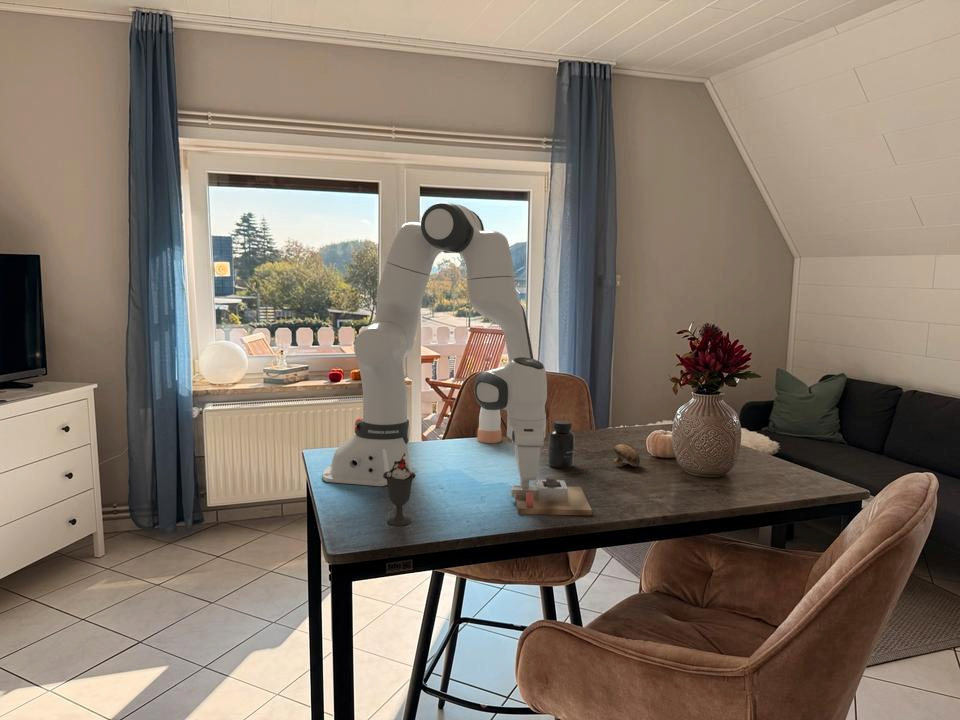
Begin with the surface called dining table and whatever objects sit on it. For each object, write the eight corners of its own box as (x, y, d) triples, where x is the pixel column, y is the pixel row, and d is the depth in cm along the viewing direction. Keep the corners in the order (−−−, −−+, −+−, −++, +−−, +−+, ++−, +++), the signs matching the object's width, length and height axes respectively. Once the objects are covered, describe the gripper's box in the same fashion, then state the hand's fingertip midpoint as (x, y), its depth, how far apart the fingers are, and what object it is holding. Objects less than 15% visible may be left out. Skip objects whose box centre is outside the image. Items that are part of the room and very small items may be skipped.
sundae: (406, 529, 141) (407, 457, 139) (377, 524, 143) (377, 453, 141) (421, 519, 147) (421, 449, 145) (392, 514, 149) (393, 445, 147)
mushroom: (605, 456, 187) (619, 437, 188) (606, 460, 195) (619, 442, 195) (630, 474, 185) (644, 454, 185) (631, 477, 192) (644, 458, 193)
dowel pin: (526, 507, 152) (526, 494, 151) (525, 505, 153) (526, 492, 153) (533, 508, 152) (534, 494, 151) (532, 505, 153) (533, 492, 153)
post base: (517, 513, 151) (518, 489, 150) (513, 490, 167) (514, 468, 166) (591, 515, 151) (592, 490, 151) (580, 491, 167) (581, 469, 166)
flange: (563, 492, 162) (564, 480, 162) (567, 501, 156) (567, 488, 156) (510, 491, 162) (510, 479, 162) (511, 500, 156) (512, 487, 155)
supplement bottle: (572, 470, 185) (574, 425, 183) (546, 468, 186) (548, 424, 185) (574, 463, 192) (576, 420, 190) (549, 461, 193) (551, 418, 191)
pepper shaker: (500, 437, 218) (501, 376, 216) (502, 443, 211) (503, 380, 209) (476, 437, 218) (478, 376, 215) (478, 443, 211) (479, 380, 208)
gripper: (509, 419, 170) (508, 474, 172) (515, 439, 150) (513, 501, 152) (535, 419, 170) (533, 474, 172) (544, 440, 150) (542, 502, 152)
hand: (524, 487), depth 162 cm, fingers closed
